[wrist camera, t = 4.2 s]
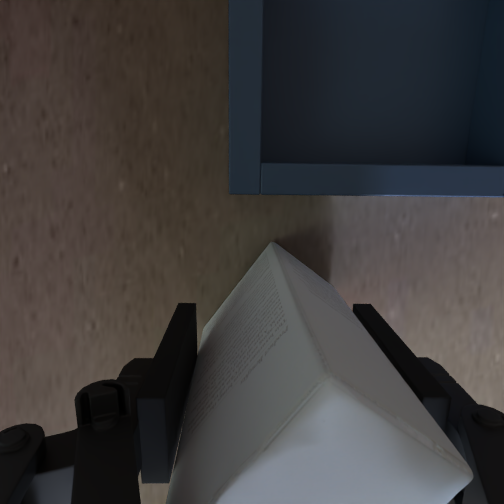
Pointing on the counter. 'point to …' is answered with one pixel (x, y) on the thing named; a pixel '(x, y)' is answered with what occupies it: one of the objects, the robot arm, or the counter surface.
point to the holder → (366, 97)
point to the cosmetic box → (304, 405)
